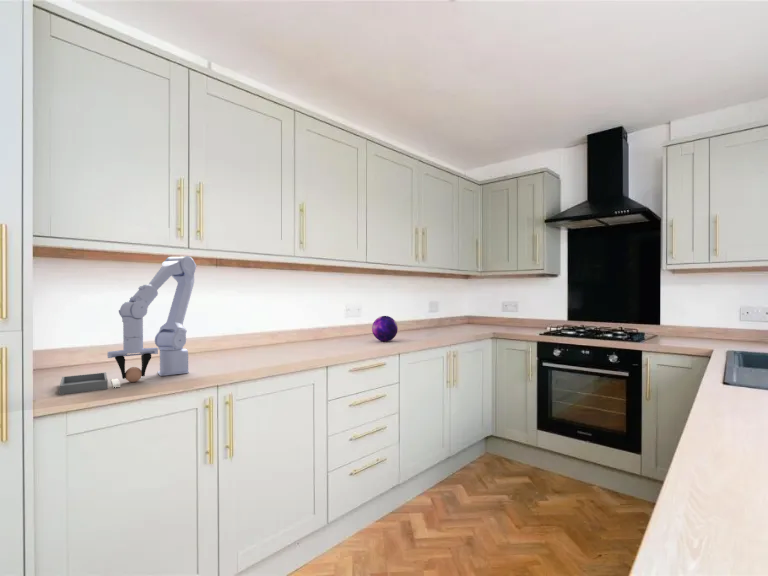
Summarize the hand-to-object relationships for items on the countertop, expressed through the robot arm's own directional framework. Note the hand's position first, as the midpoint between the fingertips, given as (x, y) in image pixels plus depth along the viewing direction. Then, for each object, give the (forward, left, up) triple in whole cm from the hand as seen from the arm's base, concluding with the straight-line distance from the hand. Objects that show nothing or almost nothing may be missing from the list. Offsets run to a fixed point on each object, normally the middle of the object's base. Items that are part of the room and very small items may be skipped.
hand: (133, 377), depth 141 cm
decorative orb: (-129, -35, -2) cm, 134 cm away
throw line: (+5, -1, -2) cm, 5 cm away
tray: (+14, -1, -2) cm, 14 cm away
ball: (0, 0, +1) cm, 1 cm away
